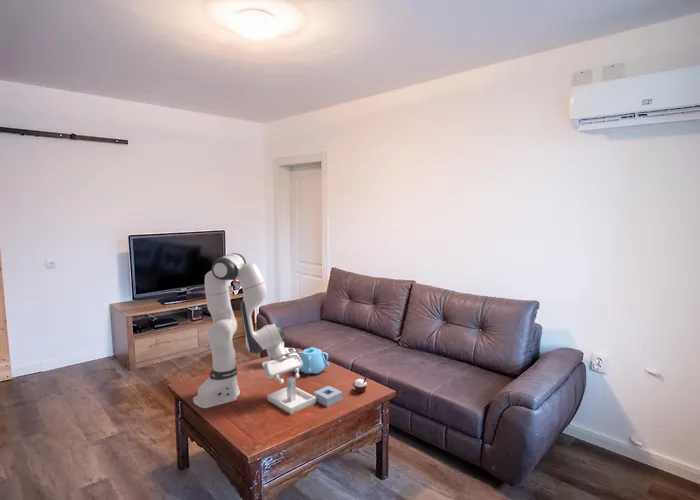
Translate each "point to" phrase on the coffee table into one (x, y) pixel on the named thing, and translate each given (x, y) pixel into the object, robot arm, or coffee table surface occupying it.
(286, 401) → the tray
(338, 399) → the socket block
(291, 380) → the pin
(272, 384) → the coffee table surface
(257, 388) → the coffee table surface
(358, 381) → the cocoa
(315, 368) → the decorative pot
